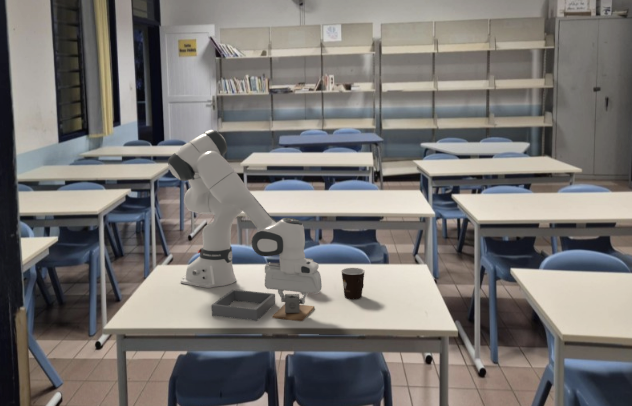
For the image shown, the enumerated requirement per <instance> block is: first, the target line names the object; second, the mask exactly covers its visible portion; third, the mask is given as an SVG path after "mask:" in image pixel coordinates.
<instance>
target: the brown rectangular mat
mask: <svg viewBox="0 0 632 406" xmlns="http://www.w3.org/2000/svg"><path fill="white" fill-rule="evenodd" d="M314 309H315V306H314V305H308V304H307V305H306V304H300V313H285V303H284V304H283V305H282V306H281V307H280V308H279V309H277V311H276V312H275V313H273V314H272V315H271V319H279V320H286V321H296V322H304V320H305V319H306V318H307V317H308V316H309V315H310V314H311V313H312V312H313V311H314ZM309 313H310V314H309Z"/></svg>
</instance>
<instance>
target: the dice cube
mask: <svg viewBox="0 0 632 406" xmlns="http://www.w3.org/2000/svg"><path fill="white" fill-rule="evenodd" d="M284 296H285V302H284V304H285V313H300V305H301V304H300V293H285V294H284Z"/></svg>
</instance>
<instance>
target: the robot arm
mask: <svg viewBox="0 0 632 406" xmlns="http://www.w3.org/2000/svg"><path fill="white" fill-rule="evenodd" d="M227 152H228V144H227V142H226V139H225V137H223V135H222V134H221V133H219V131H217V130H214V129H209V130H206V131H204V132H203V133H202V134H200V135H198V136H196V137H194V138H193V139H191V140H190V141H188V142H187V143H185V144H183V145H182V146H181V147H180V148H179V149H178V151H176V152H174V153H173V154H172V155H171V156H169V158H168V159H167V160H168V161H167V164H168V167H169V172H170V173H171V174H172V176H173V177H175V178H176V179H177V180H179V181H181V182H187V181H188V184H189V185H190V188H188V189H187V191H186V192H185V194H184V197H183V201H184V206H185V208H186V209H187V210H188V211H189V212H193V213H197V214H201V215H213V216H214V217H213V221H212V222H210V223H208V224H207V225H204V227H203V229H202V234H201V235H202V247H201V248H200V249H198V251H197V254H199V256H198V257H197V258H195V260H193V261H192V262H191V263H190V264H188V266H187V268H186V273H185V275H184V276H183V277H181V278H180V283H181V284H185V285H188V286H189V285H191V286H195V287H201V288H206V289H210V288H212V289H213V288H216V287H222V286H228V285H231V284H233V283H235V282H236V281H237V278H236V276H235V271H234V267H233V247H232V245H231V244H232V243H231V232H232V231H231V230H232V225H233V223H234V221H235V220H236V218H237V217H238V216H239V215H241V214H242V213H244V214H245V215H246V217H248V219H249V220H250V222H252V223H253V225H254V226H255V227H256V229H257V231H256V232H255V233H254V235H253V236H252V238H251V247H252V250H253V251H254V252H255V253H256V254H257V255H258V256H261V257H270V256H271V257H272V256H279V263H278V262H276V263H275V262H268V263H266V265H265V266H264V273H265V275H264V286H265V288H266V289H267V290H277V294H278V296H279V297H280V299H281V300H280V301H281V303H285V294H284V291H287V292H296V293H297V292H298V293H302V294H301V295H302V297H301V298H300V297H299V298H300V305H305V303H306V298H307V296H308V294H313V295H314V294H316V295H317V294H319V293H320V292H321V290H322V286H323V285H322V277H321V273H320V271H319V270H318V269H319V263H317V262H315V261H314V260H313V261H311V260H308V259H306V258H307V257H306V254H305V250H304V249H305V245H306V238H305V227H304V225H303V222H302V221H301V220H299V219H297V218H293V217H283V218H281V219H280V220H277V219H275V218H273V217H272V216H271V215H270V214H269V213H268V211H267V210H266V209H265V208H264V207H263V206H262V204H261V203H260V202H259V201H258V200H257V198H256V197H255V196H254V195H253V193H252V192H251V191H250V190H249V188H248V187H247V186H246V184H245V183H244V181H243V180H242V179H241V177H240V175H239V174H238V173H237V171H236V170H235V169H234V168H233V166H232V165H231V164H230V163H229V161H227V160H226V158H224V155H225V154H226V153H227Z"/></svg>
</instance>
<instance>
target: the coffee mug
mask: <svg viewBox="0 0 632 406" xmlns="http://www.w3.org/2000/svg"><path fill="white" fill-rule="evenodd" d="M341 278H342V287H343V294H344V298H345V299H348V300H359V299H361V298H362V297H363V289H364V279H365V269H364V268H359V267H347V268H344V269H342V270H341Z"/></svg>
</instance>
